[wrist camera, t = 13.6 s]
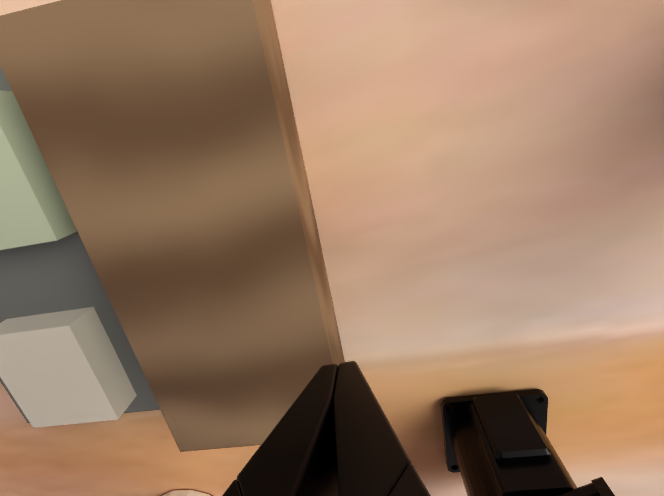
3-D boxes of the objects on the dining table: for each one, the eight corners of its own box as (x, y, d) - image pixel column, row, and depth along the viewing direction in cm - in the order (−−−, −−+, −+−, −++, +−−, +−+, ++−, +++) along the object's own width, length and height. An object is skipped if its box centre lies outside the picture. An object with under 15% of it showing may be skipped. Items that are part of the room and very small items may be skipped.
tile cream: (33, 428, 23) (57, 403, 24) (118, 419, 22) (136, 395, 24) (-26, 338, 20) (6, 318, 22) (68, 325, 19) (93, 306, 21)
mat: (199, 399, 24) (196, 405, 24) (33, 417, 26) (27, 422, 25) (54, 43, 16) (45, 41, 16) (-173, 96, 18) (-187, 96, 17)
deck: (349, 384, 23) (348, 437, 19) (206, 399, 24) (180, 451, 21) (268, -9, 15) (242, -46, 12) (63, 40, 16) (-21, 21, 13)
